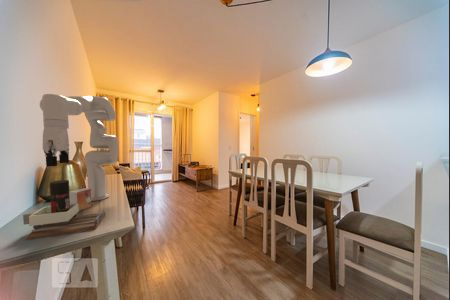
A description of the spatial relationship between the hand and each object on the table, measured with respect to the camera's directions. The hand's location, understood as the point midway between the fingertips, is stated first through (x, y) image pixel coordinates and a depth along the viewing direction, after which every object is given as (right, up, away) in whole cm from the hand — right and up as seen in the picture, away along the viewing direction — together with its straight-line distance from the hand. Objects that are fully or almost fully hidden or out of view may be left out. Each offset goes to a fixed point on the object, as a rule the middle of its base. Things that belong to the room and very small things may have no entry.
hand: (58, 164), depth 72 cm
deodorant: (0, -23, +1) cm, 23 cm away
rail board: (+3, -28, +3) cm, 28 cm away
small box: (-9, -27, +22) cm, 36 cm away
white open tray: (-3, -26, 0) cm, 26 cm away
